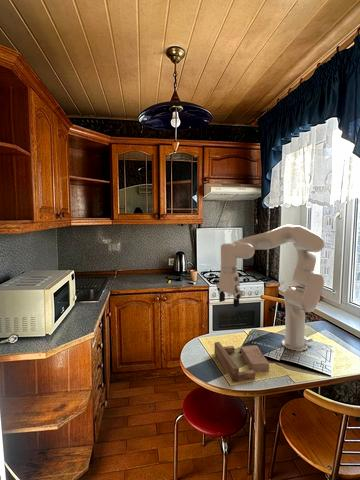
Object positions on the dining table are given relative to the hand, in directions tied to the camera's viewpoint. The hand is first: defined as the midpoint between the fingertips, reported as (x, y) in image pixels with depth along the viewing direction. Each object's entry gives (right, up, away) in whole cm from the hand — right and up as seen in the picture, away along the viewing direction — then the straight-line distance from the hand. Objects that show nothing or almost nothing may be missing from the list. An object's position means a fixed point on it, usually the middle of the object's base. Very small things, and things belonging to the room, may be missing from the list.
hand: (229, 303), depth 130 cm
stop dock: (+2, -28, -4) cm, 28 cm away
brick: (+12, -28, -2) cm, 30 cm away
